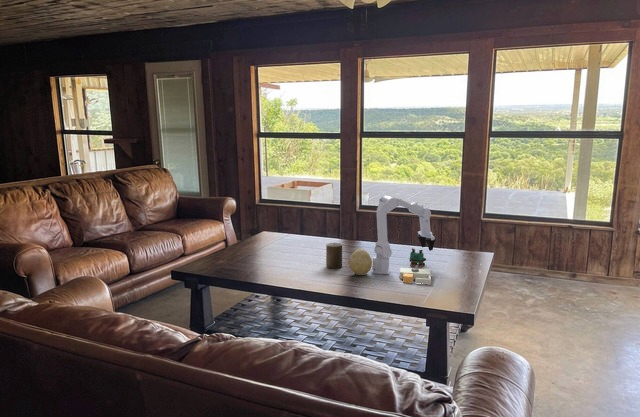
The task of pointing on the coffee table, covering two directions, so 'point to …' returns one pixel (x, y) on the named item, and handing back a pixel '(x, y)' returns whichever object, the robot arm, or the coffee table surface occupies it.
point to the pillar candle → (334, 255)
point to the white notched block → (417, 274)
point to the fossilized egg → (360, 262)
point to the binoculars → (417, 258)
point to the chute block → (407, 277)
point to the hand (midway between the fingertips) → (427, 248)
